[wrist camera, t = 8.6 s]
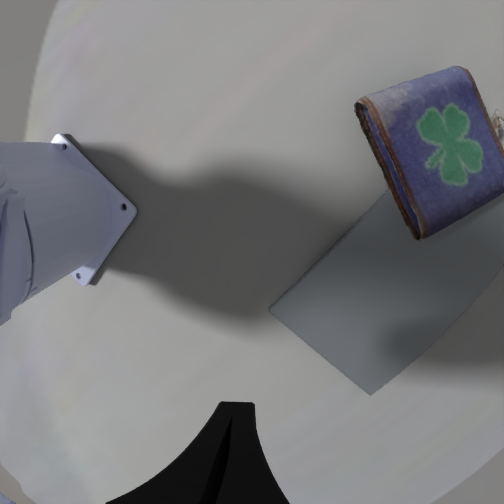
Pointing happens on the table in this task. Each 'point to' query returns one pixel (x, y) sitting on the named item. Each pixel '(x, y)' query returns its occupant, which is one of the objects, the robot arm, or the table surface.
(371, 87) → the table surface
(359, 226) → the mat
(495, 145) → the clover print pouch
